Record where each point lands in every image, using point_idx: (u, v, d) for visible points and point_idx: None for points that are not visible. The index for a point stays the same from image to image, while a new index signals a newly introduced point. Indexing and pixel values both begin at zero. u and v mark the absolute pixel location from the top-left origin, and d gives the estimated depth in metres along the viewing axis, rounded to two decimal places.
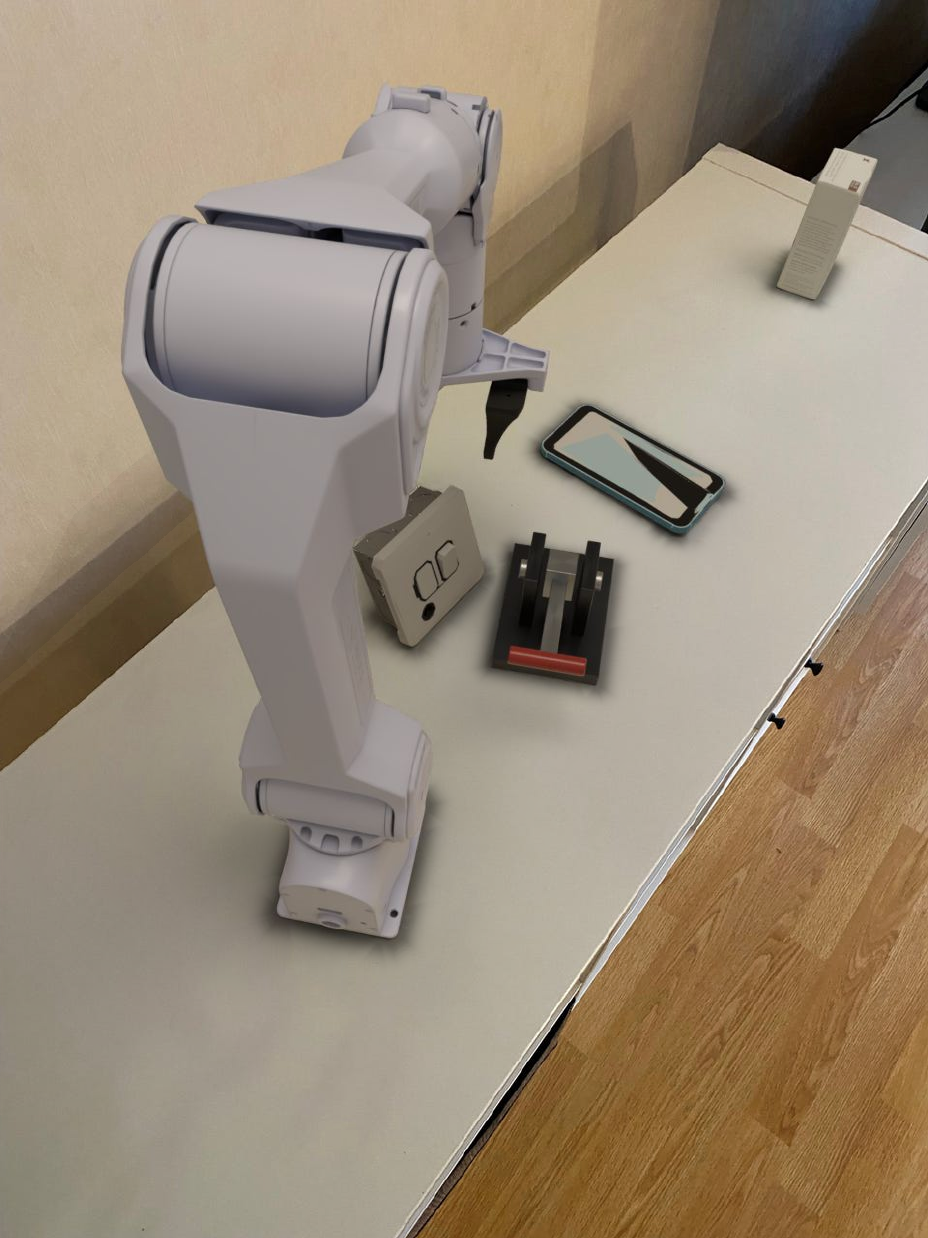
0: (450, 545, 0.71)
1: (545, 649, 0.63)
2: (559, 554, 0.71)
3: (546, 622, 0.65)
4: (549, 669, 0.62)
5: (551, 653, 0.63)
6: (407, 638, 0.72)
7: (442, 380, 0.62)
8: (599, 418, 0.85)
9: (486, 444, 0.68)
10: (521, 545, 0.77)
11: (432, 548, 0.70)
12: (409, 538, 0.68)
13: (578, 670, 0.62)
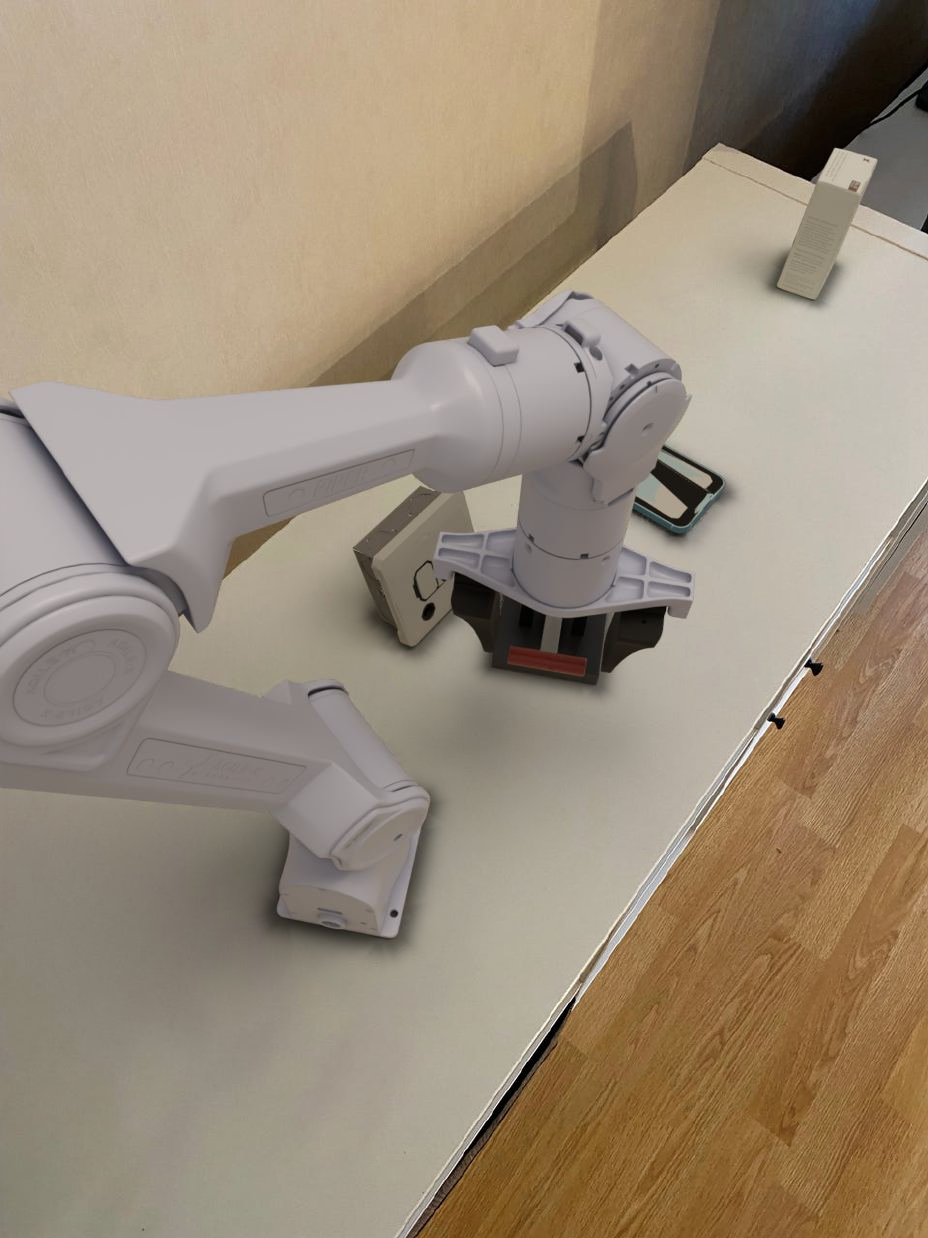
0: None
1: (545, 649, 0.63)
2: None
3: (546, 622, 0.65)
4: (549, 669, 0.62)
5: (551, 653, 0.63)
6: (407, 638, 0.72)
7: (572, 613, 0.52)
8: None
9: (607, 662, 0.59)
10: None
11: (432, 548, 0.70)
12: (409, 538, 0.68)
13: (578, 670, 0.62)
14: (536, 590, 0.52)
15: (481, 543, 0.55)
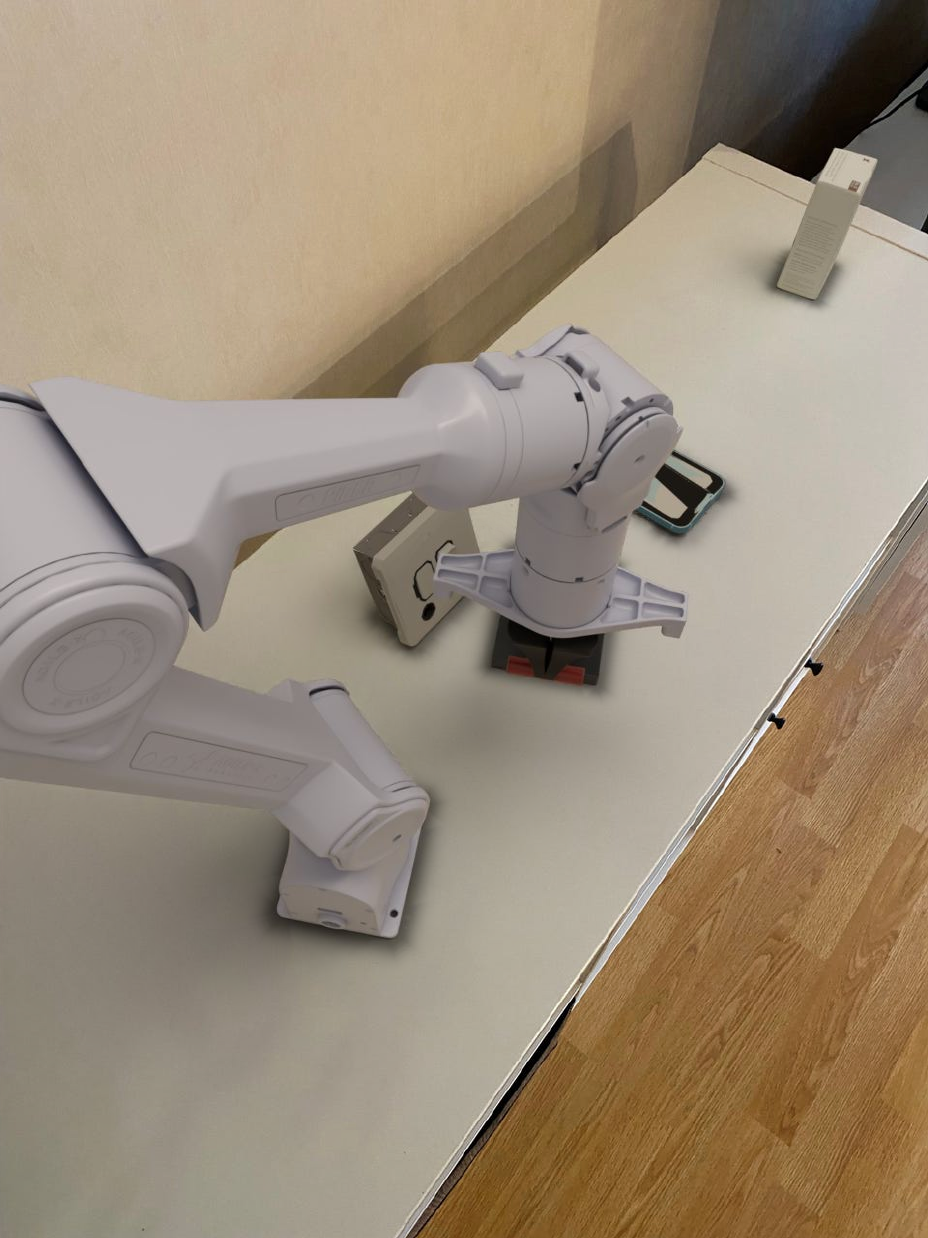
0: (450, 545, 0.71)
1: None
2: None
3: None
4: (547, 679, 0.63)
5: None
6: (407, 638, 0.72)
7: (568, 633, 0.54)
8: None
9: (549, 670, 0.60)
10: None
11: (432, 548, 0.70)
12: (409, 538, 0.68)
13: (576, 680, 0.63)
14: (533, 611, 0.53)
15: (480, 564, 0.56)
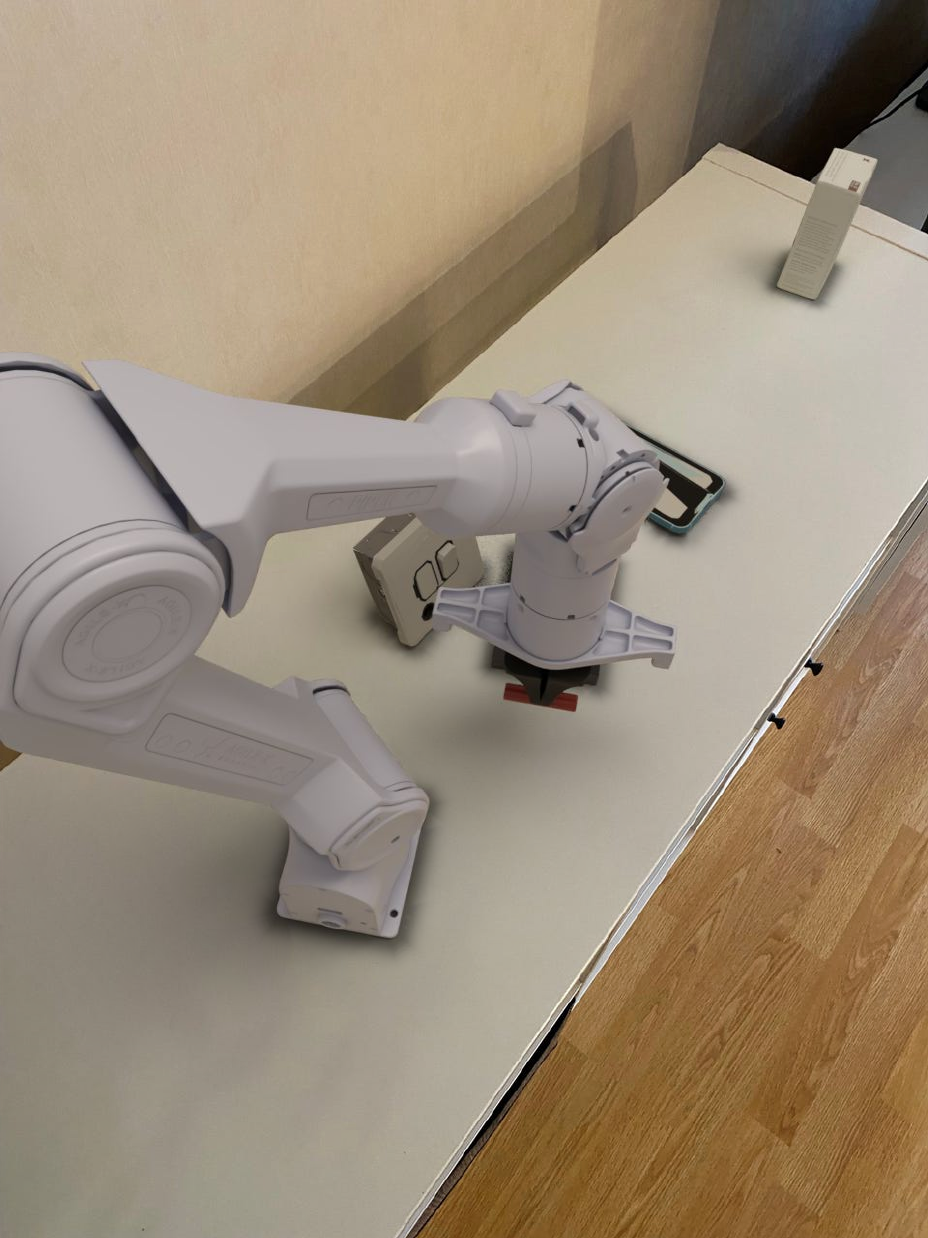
0: (450, 545, 0.71)
1: None
2: None
3: None
4: (542, 706, 0.66)
5: None
6: (407, 638, 0.72)
7: (561, 665, 0.56)
8: None
9: (544, 697, 0.63)
10: None
11: (432, 548, 0.70)
12: (409, 538, 0.68)
13: (569, 709, 0.65)
14: (529, 645, 0.56)
15: (477, 598, 0.59)
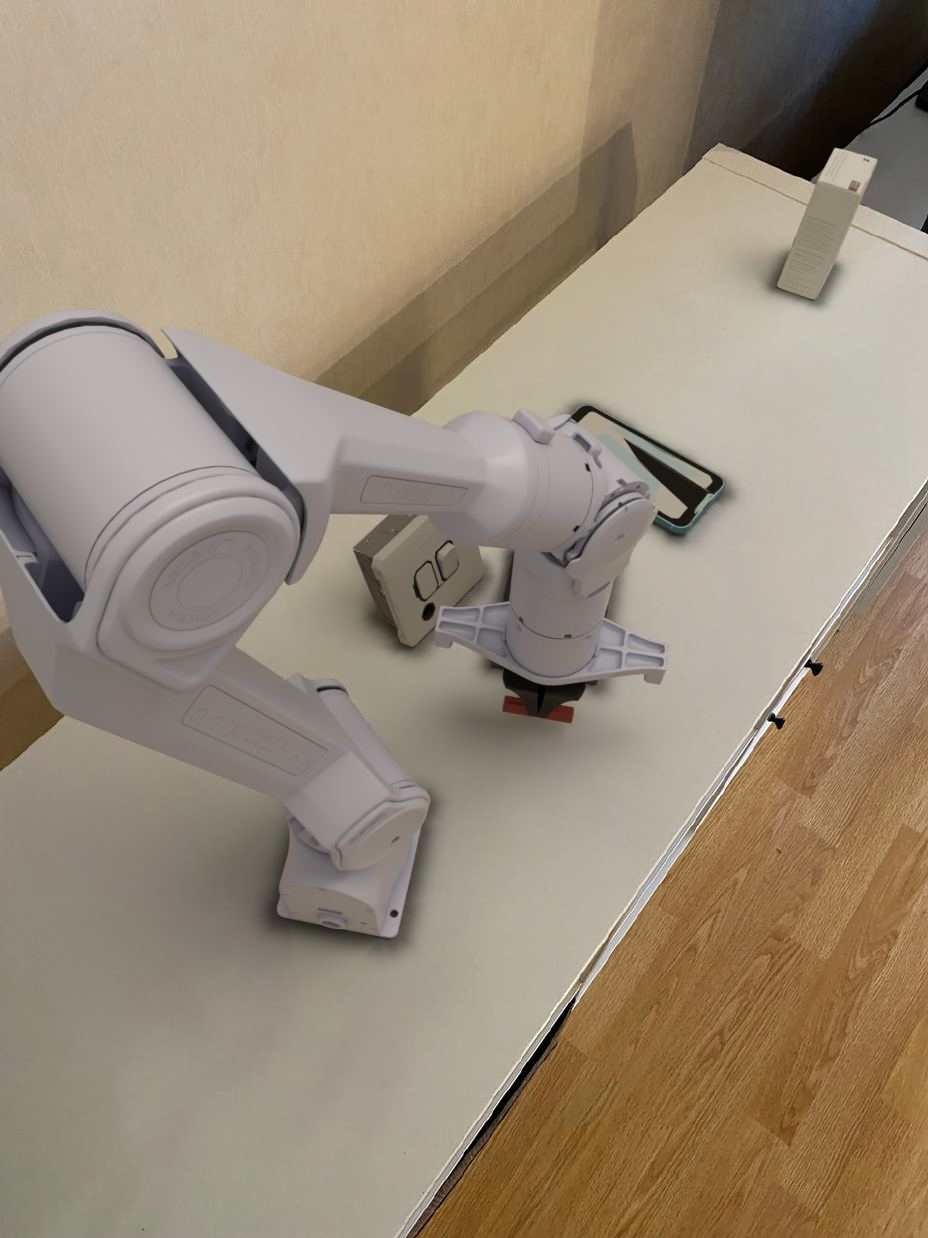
0: (450, 545, 0.71)
1: None
2: None
3: None
4: None
5: None
6: (407, 638, 0.72)
7: (558, 681, 0.59)
8: (599, 418, 0.85)
9: (541, 710, 0.65)
10: None
11: (432, 548, 0.70)
12: (409, 538, 0.68)
13: (565, 722, 0.68)
14: (526, 662, 0.58)
15: (477, 616, 0.61)
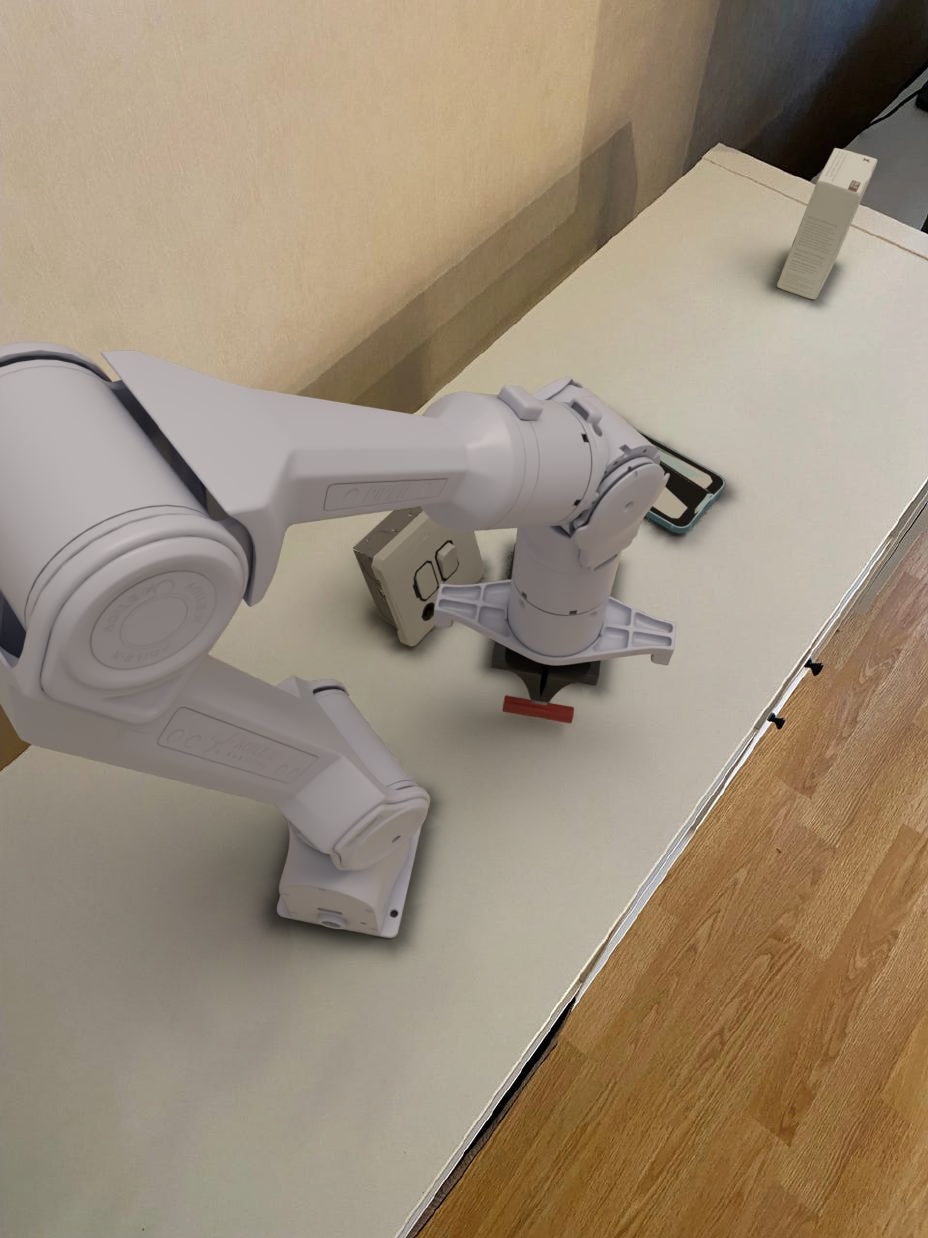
0: (450, 545, 0.71)
1: None
2: None
3: None
4: (540, 717, 0.69)
5: (541, 706, 0.68)
6: (407, 638, 0.72)
7: (562, 661, 0.57)
8: None
9: (544, 693, 0.63)
10: None
11: (432, 548, 0.70)
12: (409, 538, 0.68)
13: (565, 722, 0.68)
14: (529, 640, 0.56)
15: (478, 594, 0.59)
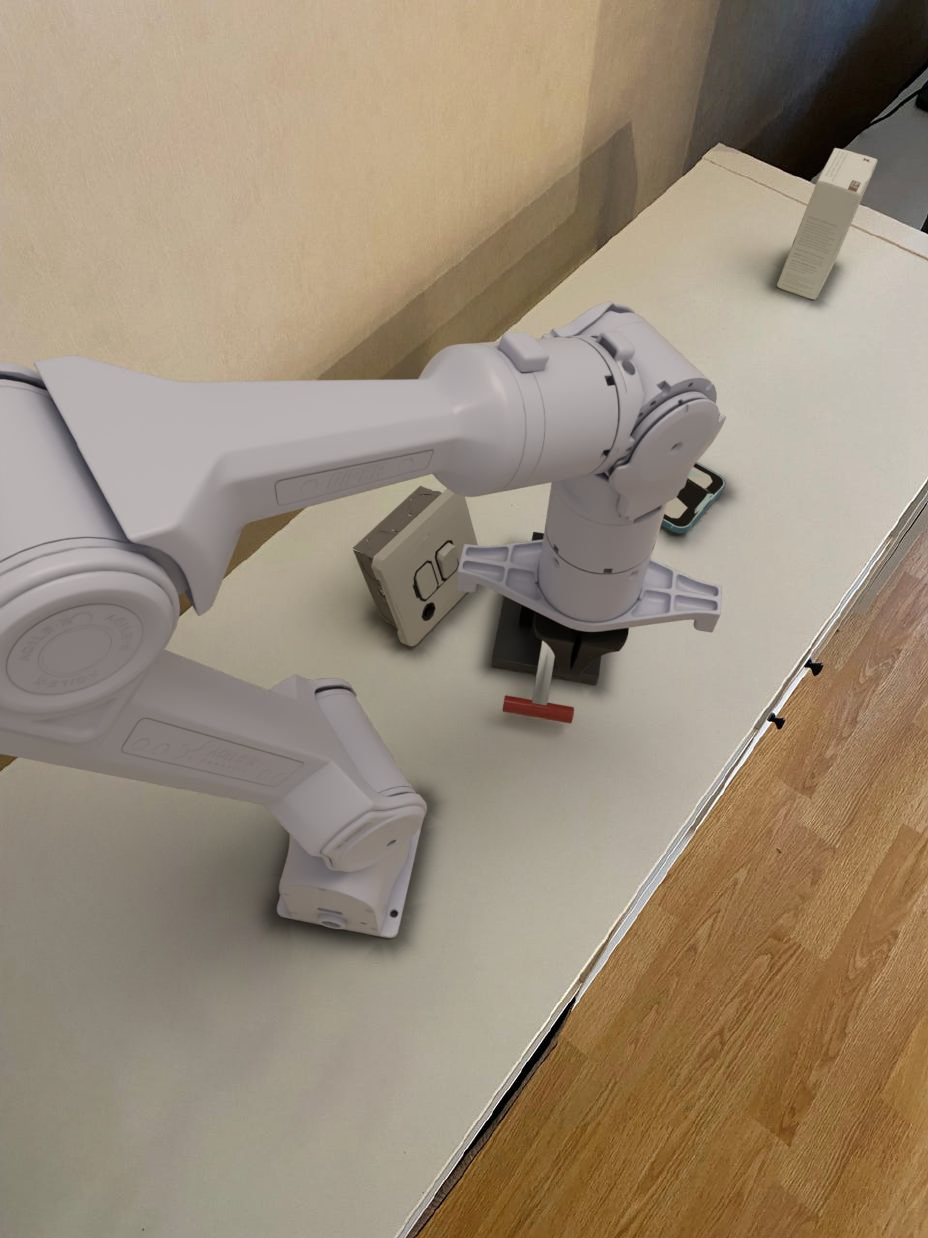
0: (450, 545, 0.71)
1: (536, 700, 0.68)
2: None
3: (540, 660, 0.69)
4: (540, 717, 0.69)
5: (541, 706, 0.68)
6: (407, 638, 0.72)
7: (598, 627, 0.52)
8: None
9: (575, 665, 0.58)
10: None
11: (432, 548, 0.70)
12: (409, 538, 0.68)
13: (565, 722, 0.68)
14: (563, 604, 0.51)
15: (505, 556, 0.54)
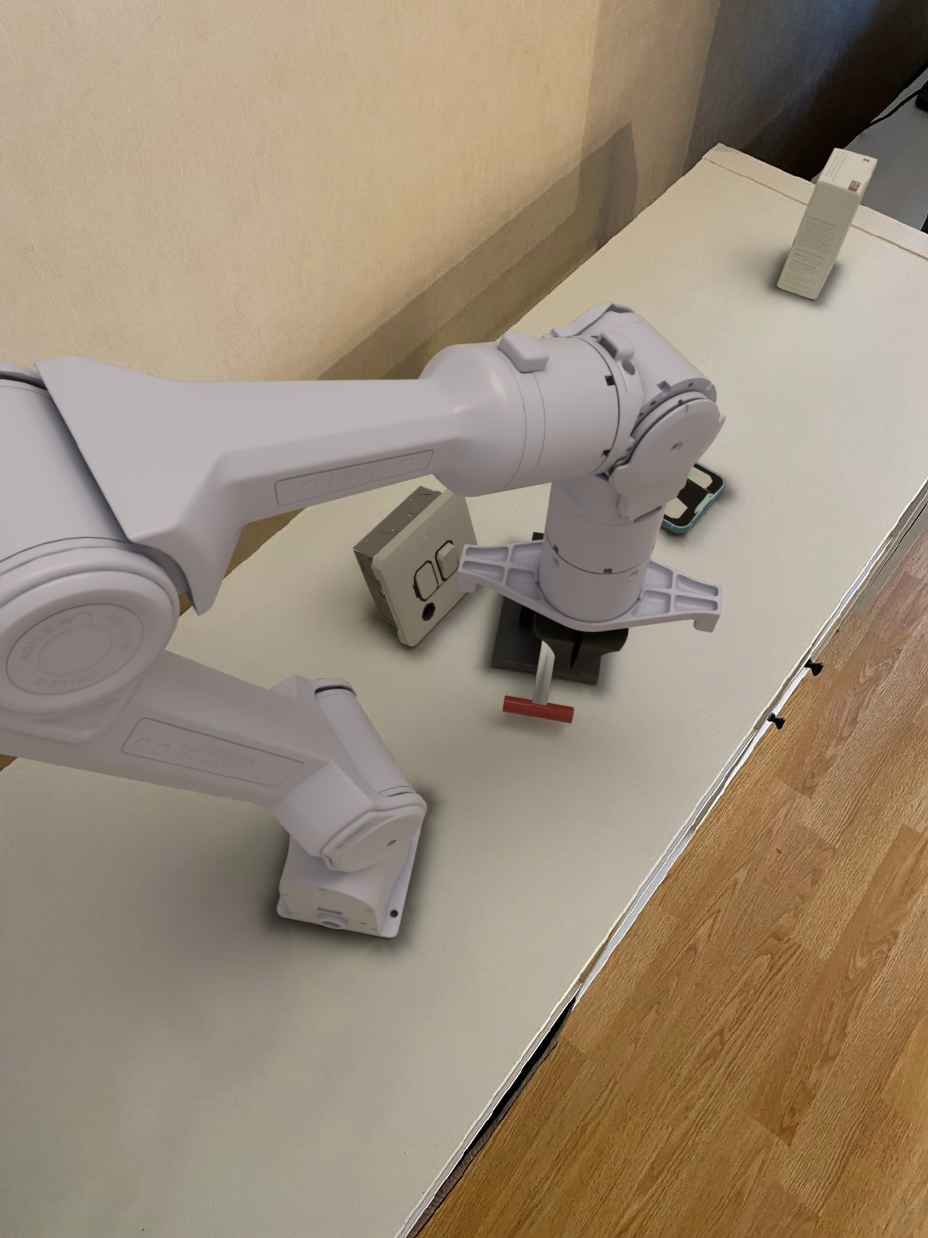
0: (450, 545, 0.71)
1: (536, 700, 0.68)
2: None
3: (540, 660, 0.69)
4: (540, 717, 0.69)
5: (541, 706, 0.68)
6: (407, 638, 0.72)
7: (598, 627, 0.52)
8: None
9: (575, 665, 0.58)
10: None
11: (432, 548, 0.70)
12: (409, 538, 0.68)
13: (565, 722, 0.68)
14: (563, 604, 0.51)
15: (505, 556, 0.54)
